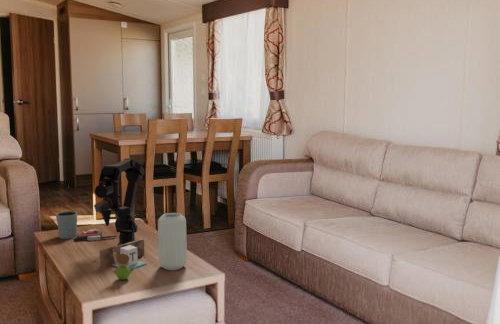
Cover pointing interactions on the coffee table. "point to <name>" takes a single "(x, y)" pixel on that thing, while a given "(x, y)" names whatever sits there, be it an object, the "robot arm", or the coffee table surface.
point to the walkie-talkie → (91, 235)
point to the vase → (172, 241)
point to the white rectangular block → (130, 254)
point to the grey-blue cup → (67, 224)
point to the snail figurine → (122, 265)
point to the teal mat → (132, 265)
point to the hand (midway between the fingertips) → (113, 227)
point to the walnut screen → (108, 257)
